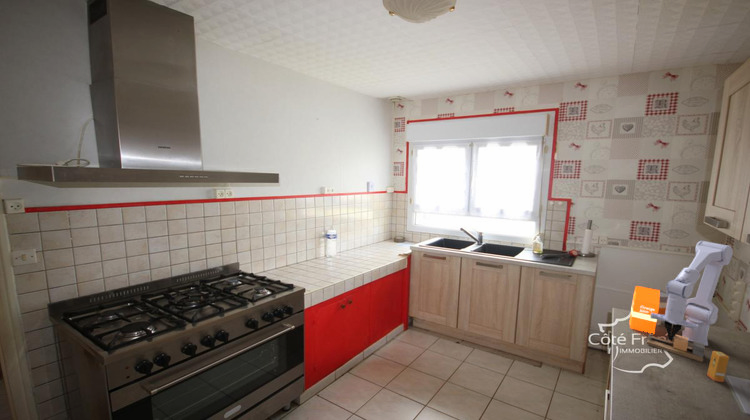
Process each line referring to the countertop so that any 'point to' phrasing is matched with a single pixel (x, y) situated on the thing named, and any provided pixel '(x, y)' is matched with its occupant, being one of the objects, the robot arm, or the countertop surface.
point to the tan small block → (680, 342)
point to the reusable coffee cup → (661, 304)
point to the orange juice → (644, 309)
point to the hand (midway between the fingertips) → (670, 339)
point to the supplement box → (717, 366)
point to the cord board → (667, 345)
